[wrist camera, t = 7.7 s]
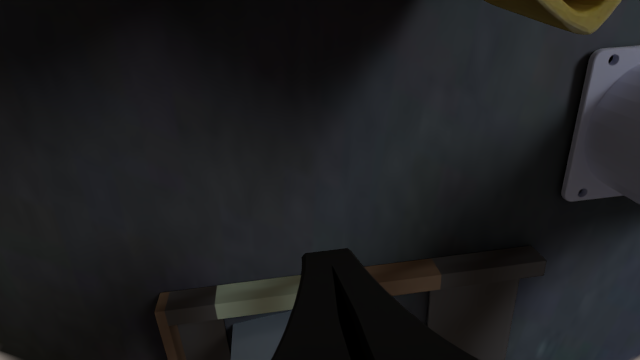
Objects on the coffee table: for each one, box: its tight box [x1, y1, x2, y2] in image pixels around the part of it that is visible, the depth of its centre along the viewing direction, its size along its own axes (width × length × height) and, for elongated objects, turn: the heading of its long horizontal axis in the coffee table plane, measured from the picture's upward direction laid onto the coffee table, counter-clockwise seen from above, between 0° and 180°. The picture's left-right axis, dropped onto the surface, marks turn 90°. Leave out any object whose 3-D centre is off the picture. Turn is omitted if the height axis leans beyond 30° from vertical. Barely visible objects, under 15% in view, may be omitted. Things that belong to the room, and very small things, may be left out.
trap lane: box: [154, 246, 547, 360], centre depth 26 cm, size 21×11×2 cm, turn 93°
